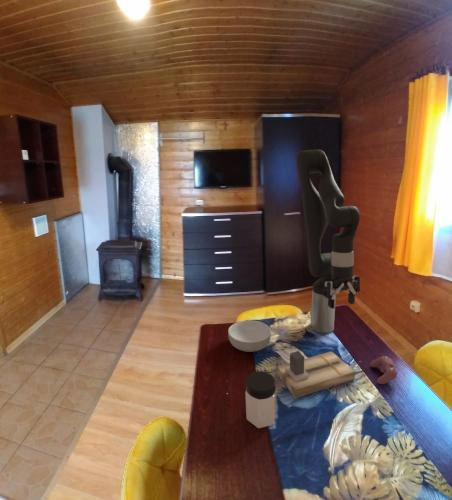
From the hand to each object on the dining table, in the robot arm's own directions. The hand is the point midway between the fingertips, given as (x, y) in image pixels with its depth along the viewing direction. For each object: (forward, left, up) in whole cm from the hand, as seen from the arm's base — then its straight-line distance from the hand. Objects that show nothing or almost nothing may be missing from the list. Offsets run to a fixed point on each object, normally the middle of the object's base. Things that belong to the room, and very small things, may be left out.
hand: (341, 305), depth 111 cm
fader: (+10, -24, -15) cm, 30 cm away
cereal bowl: (-15, -31, -18) cm, 39 cm away
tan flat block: (+10, -18, -18) cm, 27 cm away
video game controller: (+18, +3, -18) cm, 26 cm away
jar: (+18, -41, -18) cm, 49 cm away
